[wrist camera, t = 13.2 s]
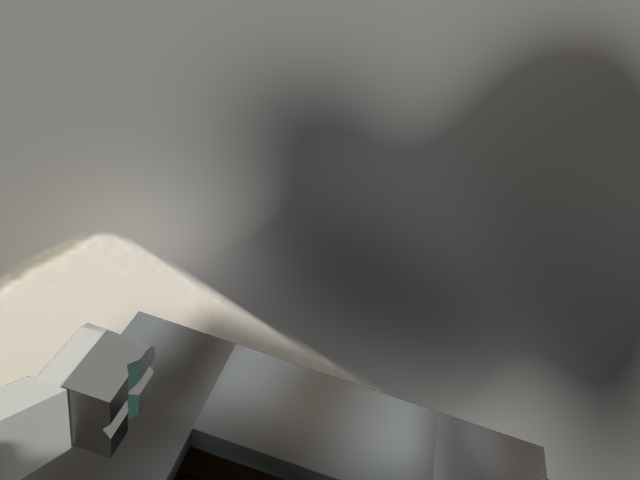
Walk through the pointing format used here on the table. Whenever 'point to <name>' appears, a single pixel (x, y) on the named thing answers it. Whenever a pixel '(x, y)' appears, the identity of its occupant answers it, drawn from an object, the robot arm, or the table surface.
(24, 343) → the table surface
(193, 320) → the table surface
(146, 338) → the drop box
